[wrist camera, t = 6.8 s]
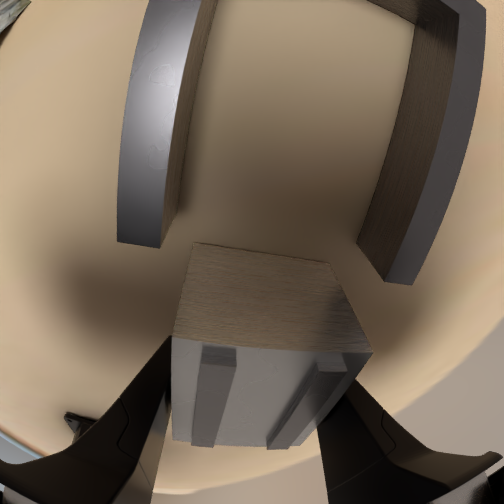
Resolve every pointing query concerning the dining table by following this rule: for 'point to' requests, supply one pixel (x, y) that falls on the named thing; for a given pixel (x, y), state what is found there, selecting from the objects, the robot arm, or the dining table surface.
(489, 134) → the dining table surface
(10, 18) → the rock
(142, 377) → the robot arm
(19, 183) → the dining table surface
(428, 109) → the bracket
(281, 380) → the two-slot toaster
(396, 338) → the dining table surface
